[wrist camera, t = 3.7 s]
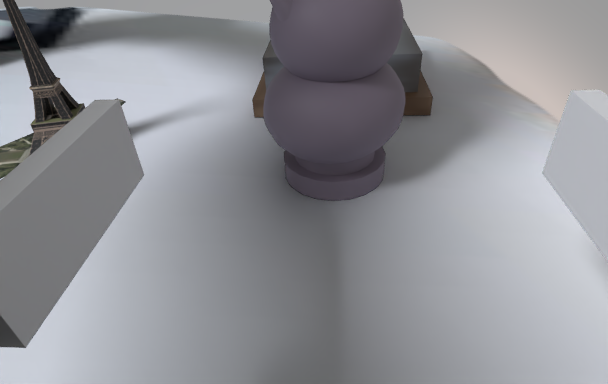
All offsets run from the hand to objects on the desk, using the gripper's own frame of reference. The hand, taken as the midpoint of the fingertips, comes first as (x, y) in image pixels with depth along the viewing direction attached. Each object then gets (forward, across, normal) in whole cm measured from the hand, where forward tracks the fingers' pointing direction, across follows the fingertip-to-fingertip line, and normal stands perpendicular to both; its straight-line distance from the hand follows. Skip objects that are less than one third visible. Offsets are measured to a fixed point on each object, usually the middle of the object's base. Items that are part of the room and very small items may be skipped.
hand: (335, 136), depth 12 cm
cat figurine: (+11, 0, -9) cm, 14 cm away
